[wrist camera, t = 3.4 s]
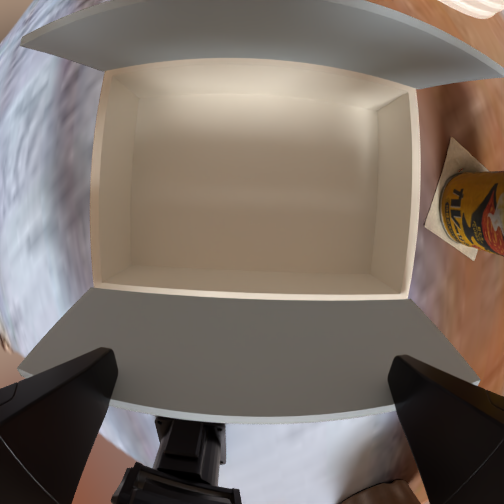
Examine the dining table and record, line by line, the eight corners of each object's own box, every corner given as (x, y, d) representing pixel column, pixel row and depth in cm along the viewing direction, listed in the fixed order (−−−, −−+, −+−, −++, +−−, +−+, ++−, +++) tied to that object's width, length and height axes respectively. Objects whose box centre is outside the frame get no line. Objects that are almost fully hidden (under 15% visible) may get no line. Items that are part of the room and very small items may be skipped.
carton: (373, 280, 19) (406, 303, 14) (127, 271, 19) (94, 292, 14) (381, 107, 17) (415, 86, 12) (135, 94, 17) (105, 68, 12)
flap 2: (410, 299, 14) (408, 305, 14) (91, 287, 13) (92, 293, 13) (480, 379, 7) (476, 387, 7) (16, 367, 7) (21, 375, 7)
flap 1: (102, 71, 11) (103, 65, 11) (418, 89, 12) (418, 83, 11) (19, 46, 5) (21, 37, 5) (505, 77, 5) (504, 68, 5)
